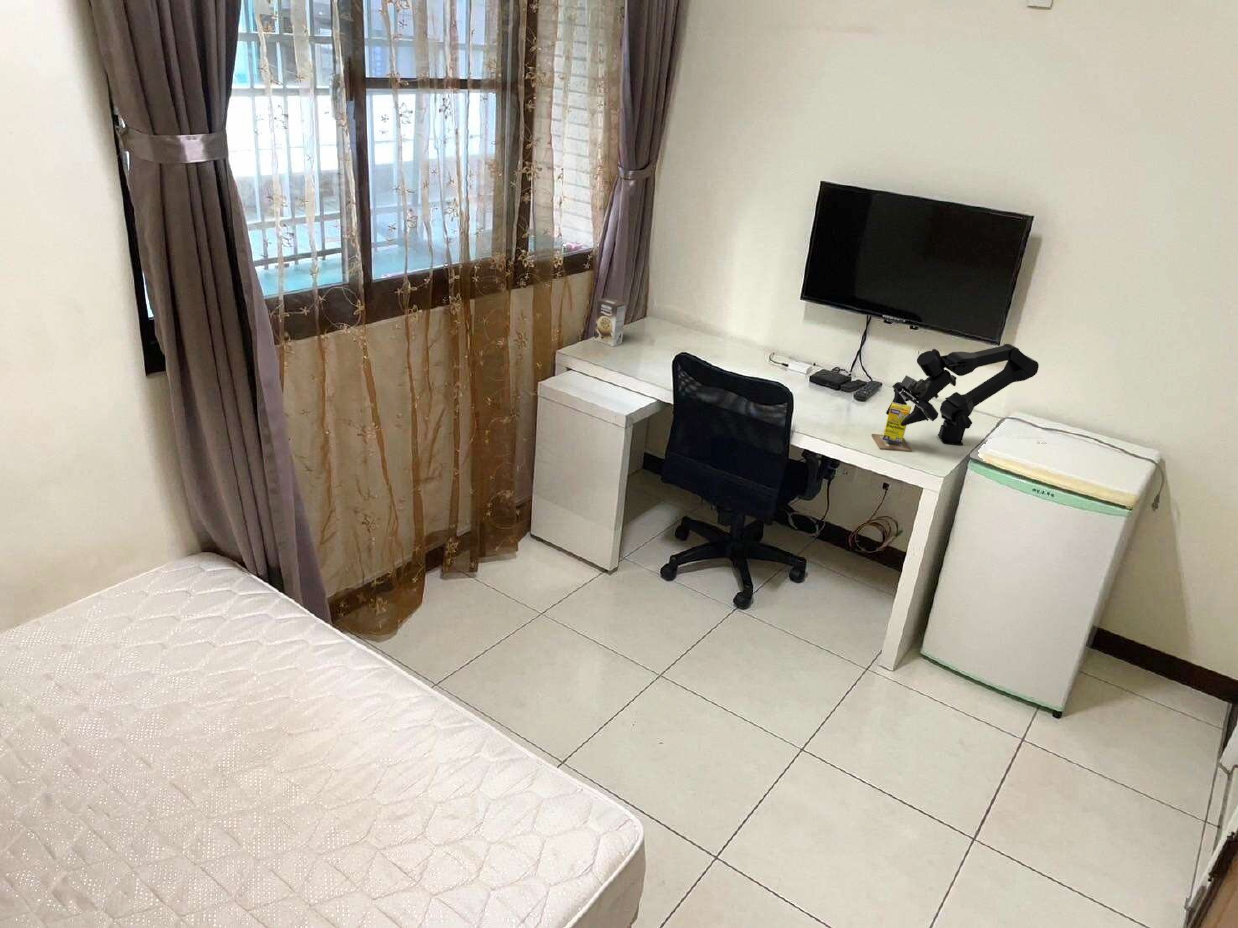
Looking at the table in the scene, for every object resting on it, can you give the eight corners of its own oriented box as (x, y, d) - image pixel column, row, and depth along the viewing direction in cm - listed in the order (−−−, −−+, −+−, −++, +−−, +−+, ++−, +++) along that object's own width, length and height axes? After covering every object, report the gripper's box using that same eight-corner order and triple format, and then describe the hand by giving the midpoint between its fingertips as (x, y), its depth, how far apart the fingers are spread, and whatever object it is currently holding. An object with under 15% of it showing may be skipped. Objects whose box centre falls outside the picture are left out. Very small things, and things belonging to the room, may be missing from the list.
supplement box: (882, 439, 277) (889, 407, 272) (884, 432, 282) (892, 401, 277) (901, 444, 275) (909, 412, 270) (903, 437, 280) (911, 405, 275)
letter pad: (902, 438, 284) (902, 436, 283) (911, 452, 275) (911, 450, 275) (871, 435, 283) (871, 433, 283) (879, 449, 274) (879, 447, 274)
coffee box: (593, 340, 339) (596, 299, 332) (603, 336, 344) (606, 296, 336) (613, 347, 335) (616, 305, 327) (622, 343, 339) (626, 302, 332)
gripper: (904, 357, 277) (866, 391, 279) (939, 380, 261) (898, 416, 263) (920, 380, 282) (882, 413, 284) (955, 403, 267) (914, 438, 269)
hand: (893, 419), depth 275 cm, fingers closed on supplement box, 8 cm apart
